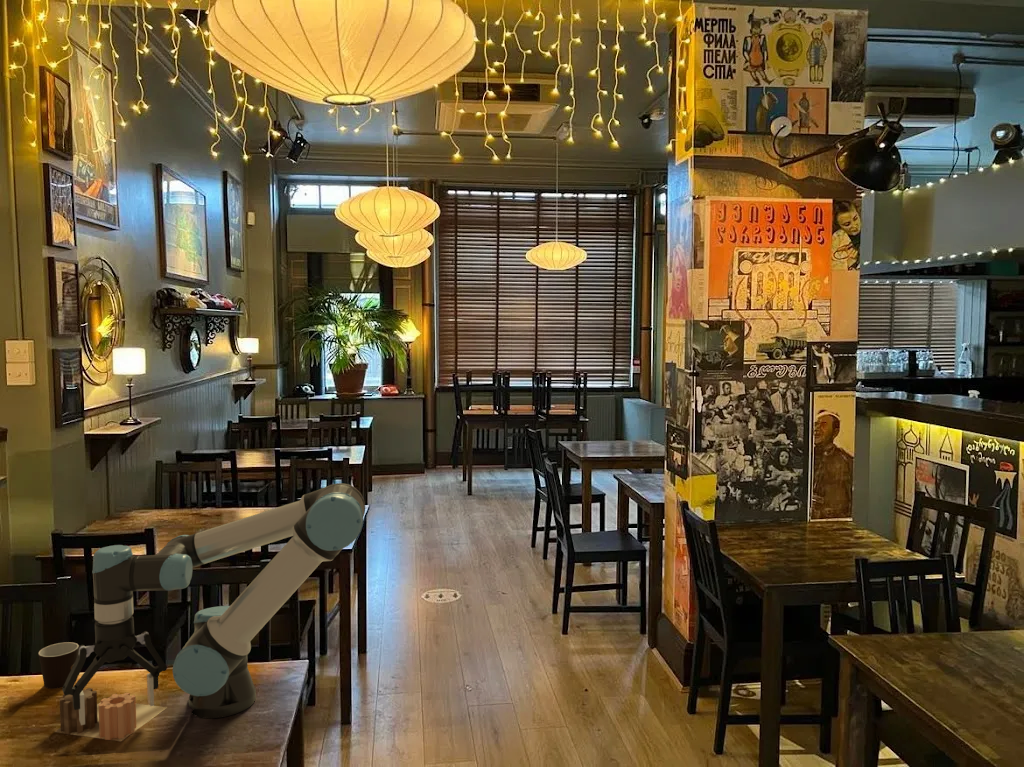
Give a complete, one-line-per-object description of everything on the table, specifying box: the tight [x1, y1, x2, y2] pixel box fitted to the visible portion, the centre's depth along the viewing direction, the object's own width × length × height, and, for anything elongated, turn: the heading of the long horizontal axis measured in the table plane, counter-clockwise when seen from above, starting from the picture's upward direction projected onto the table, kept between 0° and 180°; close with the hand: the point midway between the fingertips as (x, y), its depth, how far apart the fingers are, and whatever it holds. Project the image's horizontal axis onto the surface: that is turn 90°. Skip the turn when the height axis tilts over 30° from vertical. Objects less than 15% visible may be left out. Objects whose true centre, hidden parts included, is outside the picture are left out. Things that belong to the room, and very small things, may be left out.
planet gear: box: [98, 692, 137, 741], centre depth 166 cm, size 7×7×7 cm
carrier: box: [54, 701, 168, 742], centre depth 171 cm, size 17×15×6 cm
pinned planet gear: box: [59, 687, 98, 735], centre depth 168 cm, size 7×7×8 cm
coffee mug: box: [38, 641, 80, 690], centre depth 190 cm, size 12×9×10 cm
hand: (117, 712), depth 166 cm, fingers open, 13 cm apart
